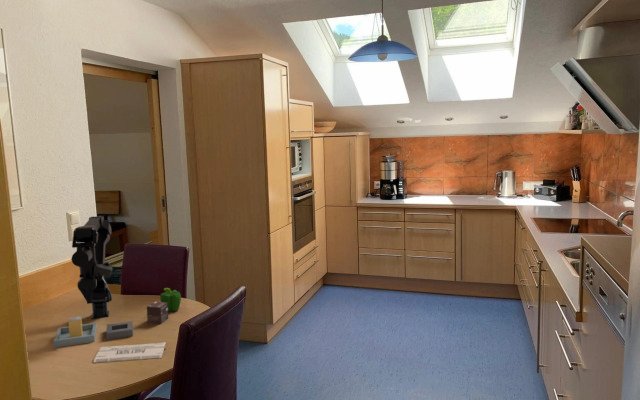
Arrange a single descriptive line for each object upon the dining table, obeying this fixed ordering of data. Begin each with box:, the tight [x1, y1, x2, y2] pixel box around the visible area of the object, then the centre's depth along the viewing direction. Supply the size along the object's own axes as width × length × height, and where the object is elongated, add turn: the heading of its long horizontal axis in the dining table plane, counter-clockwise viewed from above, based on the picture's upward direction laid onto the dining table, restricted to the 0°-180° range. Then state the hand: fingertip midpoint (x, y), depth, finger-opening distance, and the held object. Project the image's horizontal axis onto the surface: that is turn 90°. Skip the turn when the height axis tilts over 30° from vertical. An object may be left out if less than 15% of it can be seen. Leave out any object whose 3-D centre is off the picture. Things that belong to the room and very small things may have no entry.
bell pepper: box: [159, 287, 182, 312], centre depth 212 cm, size 8×8×10 cm
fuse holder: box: [105, 320, 134, 341], centre depth 187 cm, size 9×9×3 cm
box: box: [146, 301, 169, 325], centre depth 199 cm, size 6×6×7 cm
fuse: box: [67, 315, 83, 338], centre depth 183 cm, size 3×4×7 cm
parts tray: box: [53, 322, 98, 349], centre depth 183 cm, size 13×13×3 cm
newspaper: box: [92, 341, 167, 364], centre depth 171 cm, size 23×12×2 cm, turn 99°
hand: (90, 299), depth 191 cm, fingers open, 9 cm apart
